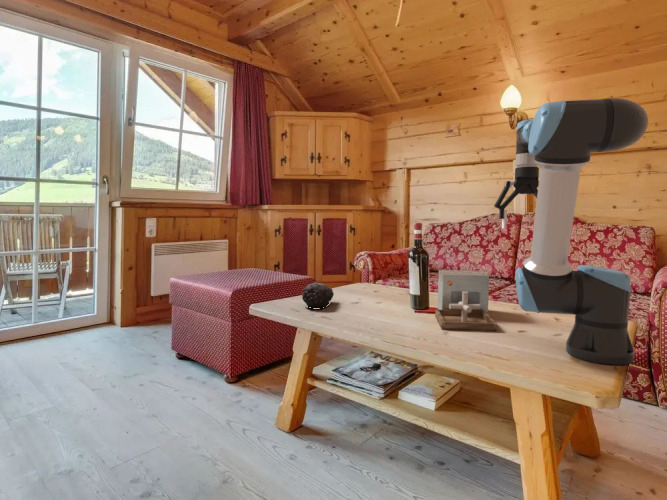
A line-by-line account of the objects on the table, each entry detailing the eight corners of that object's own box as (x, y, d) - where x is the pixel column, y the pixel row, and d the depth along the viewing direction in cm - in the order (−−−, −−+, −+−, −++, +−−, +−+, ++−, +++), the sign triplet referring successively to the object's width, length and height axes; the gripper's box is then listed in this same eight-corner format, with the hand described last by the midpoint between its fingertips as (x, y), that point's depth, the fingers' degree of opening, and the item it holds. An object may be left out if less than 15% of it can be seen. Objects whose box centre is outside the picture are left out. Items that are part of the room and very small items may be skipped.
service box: (488, 317, 147) (489, 275, 145) (442, 316, 149) (443, 274, 147) (479, 308, 160) (481, 270, 158) (437, 307, 162) (438, 269, 160)
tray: (496, 331, 130) (497, 323, 129) (441, 329, 132) (441, 321, 132) (484, 317, 147) (484, 310, 146) (435, 316, 149) (435, 309, 148)
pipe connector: (484, 325, 134) (485, 294, 133) (453, 324, 134) (454, 294, 134) (474, 318, 144) (475, 289, 143) (445, 317, 144) (446, 289, 144)
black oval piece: (336, 301, 172) (336, 278, 171) (324, 311, 155) (324, 285, 154) (312, 300, 175) (312, 276, 174) (298, 309, 158) (298, 284, 157)
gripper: (560, 167, 144) (557, 228, 147) (486, 168, 148) (484, 227, 150) (570, 165, 137) (566, 229, 139) (492, 166, 140) (489, 228, 142)
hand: (524, 228), depth 144 cm, fingers open, 13 cm apart
